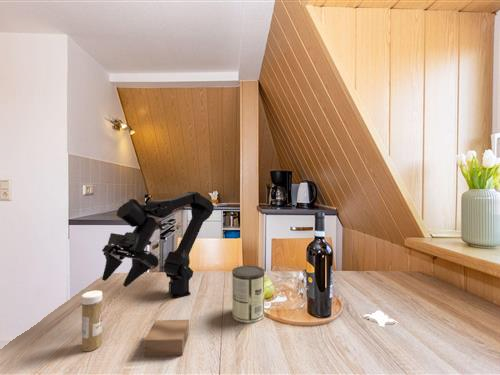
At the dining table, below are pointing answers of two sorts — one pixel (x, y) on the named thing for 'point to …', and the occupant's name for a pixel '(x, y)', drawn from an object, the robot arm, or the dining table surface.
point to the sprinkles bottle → (91, 320)
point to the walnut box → (166, 338)
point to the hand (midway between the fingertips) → (113, 283)
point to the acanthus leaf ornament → (380, 318)
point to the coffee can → (248, 293)
